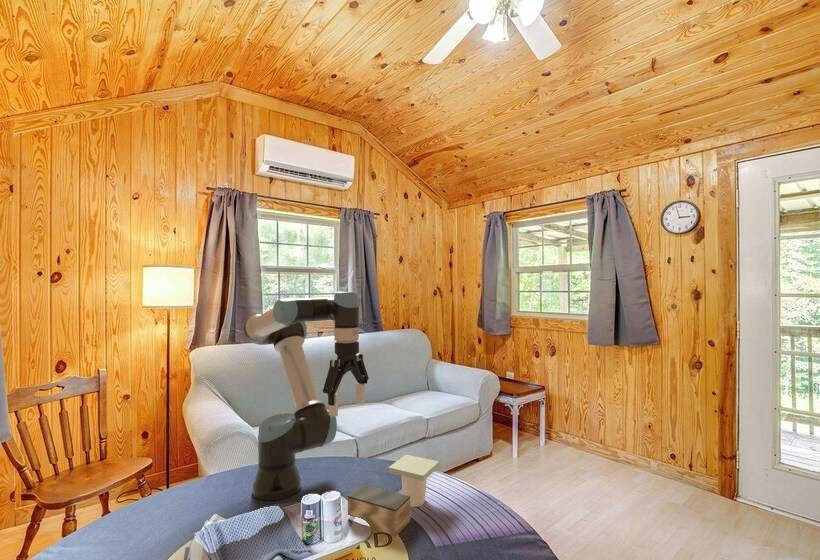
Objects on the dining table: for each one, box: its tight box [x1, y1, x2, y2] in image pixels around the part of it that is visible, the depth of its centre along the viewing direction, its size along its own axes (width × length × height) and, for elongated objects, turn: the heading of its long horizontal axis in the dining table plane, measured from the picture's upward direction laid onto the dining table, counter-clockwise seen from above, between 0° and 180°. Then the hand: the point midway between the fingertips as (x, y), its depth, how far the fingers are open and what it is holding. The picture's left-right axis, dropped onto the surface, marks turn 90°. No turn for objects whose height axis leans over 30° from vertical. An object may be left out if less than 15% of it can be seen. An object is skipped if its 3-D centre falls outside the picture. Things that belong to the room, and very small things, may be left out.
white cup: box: [401, 475, 427, 508], centre depth 129 cm, size 8×8×10 cm
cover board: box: [388, 454, 440, 481], centre depth 129 cm, size 12×11×2 cm
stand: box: [347, 483, 411, 537], centre depth 118 cm, size 16×8×7 cm, turn 62°
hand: (347, 409), depth 129 cm, fingers open, 13 cm apart
